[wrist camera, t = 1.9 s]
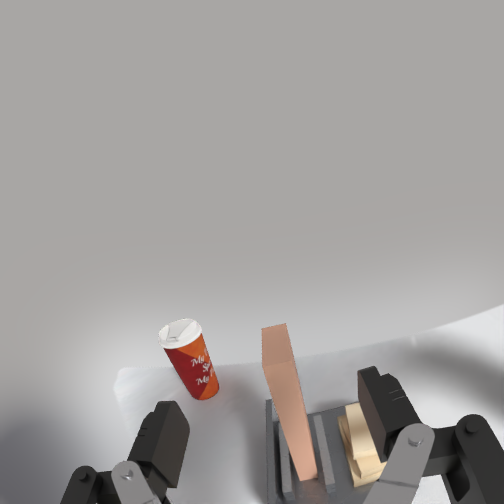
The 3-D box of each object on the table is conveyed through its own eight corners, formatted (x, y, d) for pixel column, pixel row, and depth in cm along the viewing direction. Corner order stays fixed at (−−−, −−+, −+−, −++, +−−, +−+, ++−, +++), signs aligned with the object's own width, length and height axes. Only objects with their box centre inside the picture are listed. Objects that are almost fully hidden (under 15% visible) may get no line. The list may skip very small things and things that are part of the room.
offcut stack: (337, 423, 32) (335, 402, 31) (378, 411, 32) (380, 389, 31) (353, 487, 22) (354, 471, 21) (403, 471, 21) (409, 452, 20)
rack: (274, 426, 36) (265, 400, 35) (379, 400, 35) (380, 371, 33) (279, 524, 20) (267, 510, 18) (417, 489, 19) (428, 468, 17)
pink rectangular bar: (296, 448, 30) (261, 328, 25) (313, 444, 30) (285, 323, 25) (300, 480, 25) (262, 366, 20) (318, 477, 25) (292, 360, 20)
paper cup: (221, 402, 44) (193, 338, 40) (181, 405, 45) (149, 344, 41) (227, 374, 51) (203, 313, 48) (190, 378, 52) (164, 319, 49)
